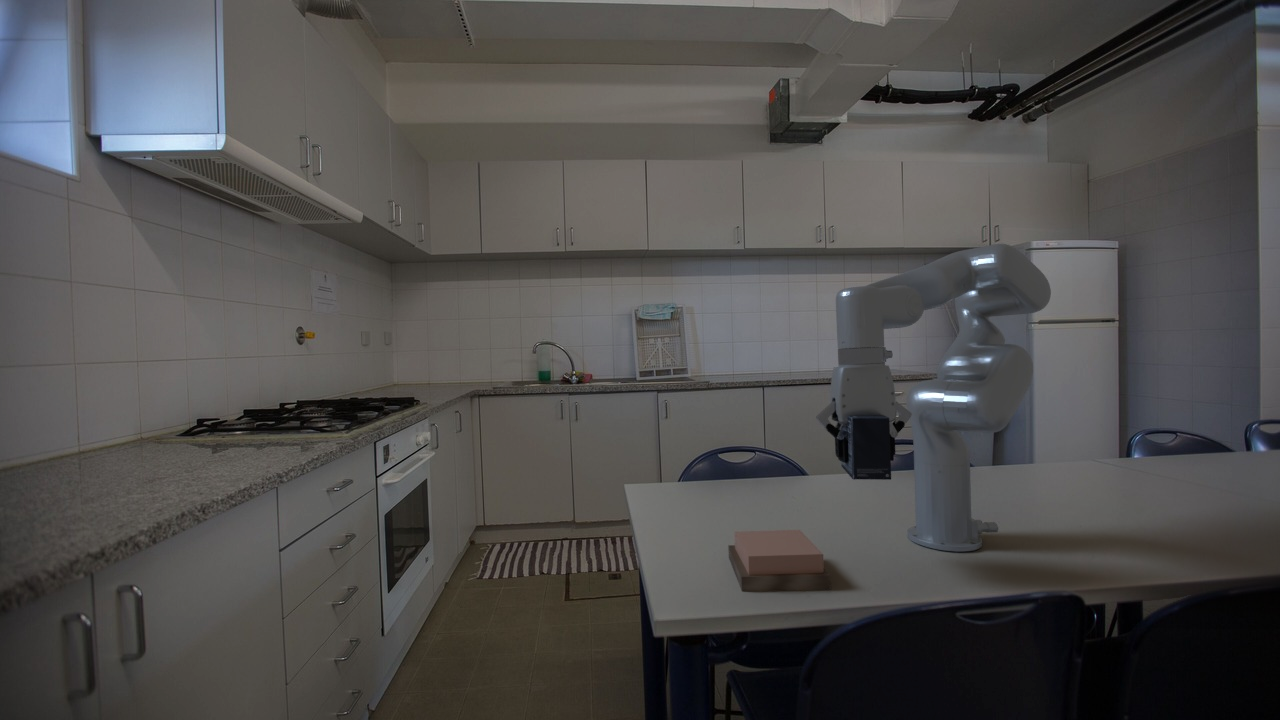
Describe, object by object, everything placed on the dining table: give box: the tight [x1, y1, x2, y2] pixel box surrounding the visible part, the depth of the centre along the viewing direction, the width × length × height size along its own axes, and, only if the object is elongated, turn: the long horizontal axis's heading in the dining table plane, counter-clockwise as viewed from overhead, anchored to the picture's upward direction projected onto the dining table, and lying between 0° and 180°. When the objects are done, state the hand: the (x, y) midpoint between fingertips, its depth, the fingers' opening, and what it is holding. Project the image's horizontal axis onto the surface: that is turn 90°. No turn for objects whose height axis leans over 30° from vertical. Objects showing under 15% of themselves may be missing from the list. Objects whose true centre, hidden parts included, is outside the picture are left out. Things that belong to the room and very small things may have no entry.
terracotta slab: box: [734, 529, 825, 575], centre depth 89 cm, size 12×12×3 cm
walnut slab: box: [727, 544, 831, 592], centre depth 90 cm, size 14×14×3 cm
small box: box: [840, 415, 892, 481], centre depth 90 cm, size 11×6×10 cm, turn 169°
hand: (865, 459), depth 90 cm, fingers closed on small box, 7 cm apart
